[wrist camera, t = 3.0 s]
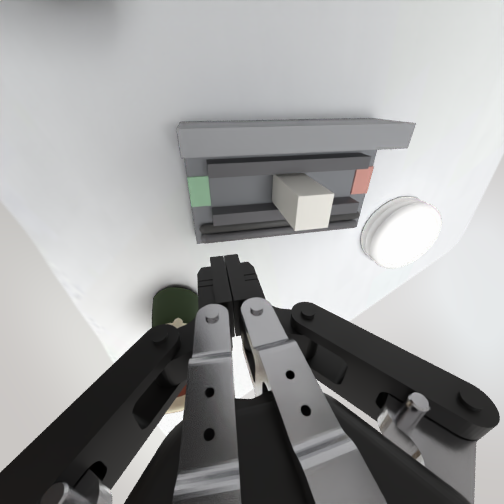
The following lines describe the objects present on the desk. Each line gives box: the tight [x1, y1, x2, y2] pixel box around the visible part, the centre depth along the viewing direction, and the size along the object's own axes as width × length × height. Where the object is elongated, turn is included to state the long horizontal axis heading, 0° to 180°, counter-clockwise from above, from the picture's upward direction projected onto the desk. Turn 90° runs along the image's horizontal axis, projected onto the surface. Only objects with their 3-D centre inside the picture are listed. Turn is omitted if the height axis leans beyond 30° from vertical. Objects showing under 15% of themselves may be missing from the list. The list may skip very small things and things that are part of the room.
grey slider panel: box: [177, 118, 416, 244], centre depth 24 cm, size 12×20×6 cm, turn 90°
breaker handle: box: [272, 173, 334, 231], centre depth 22 cm, size 3×3×7 cm
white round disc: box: [361, 197, 442, 269], centre depth 33 cm, size 10×10×4 cm
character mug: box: [152, 287, 198, 414], centre depth 28 cm, size 11×7×13 cm, turn 164°
